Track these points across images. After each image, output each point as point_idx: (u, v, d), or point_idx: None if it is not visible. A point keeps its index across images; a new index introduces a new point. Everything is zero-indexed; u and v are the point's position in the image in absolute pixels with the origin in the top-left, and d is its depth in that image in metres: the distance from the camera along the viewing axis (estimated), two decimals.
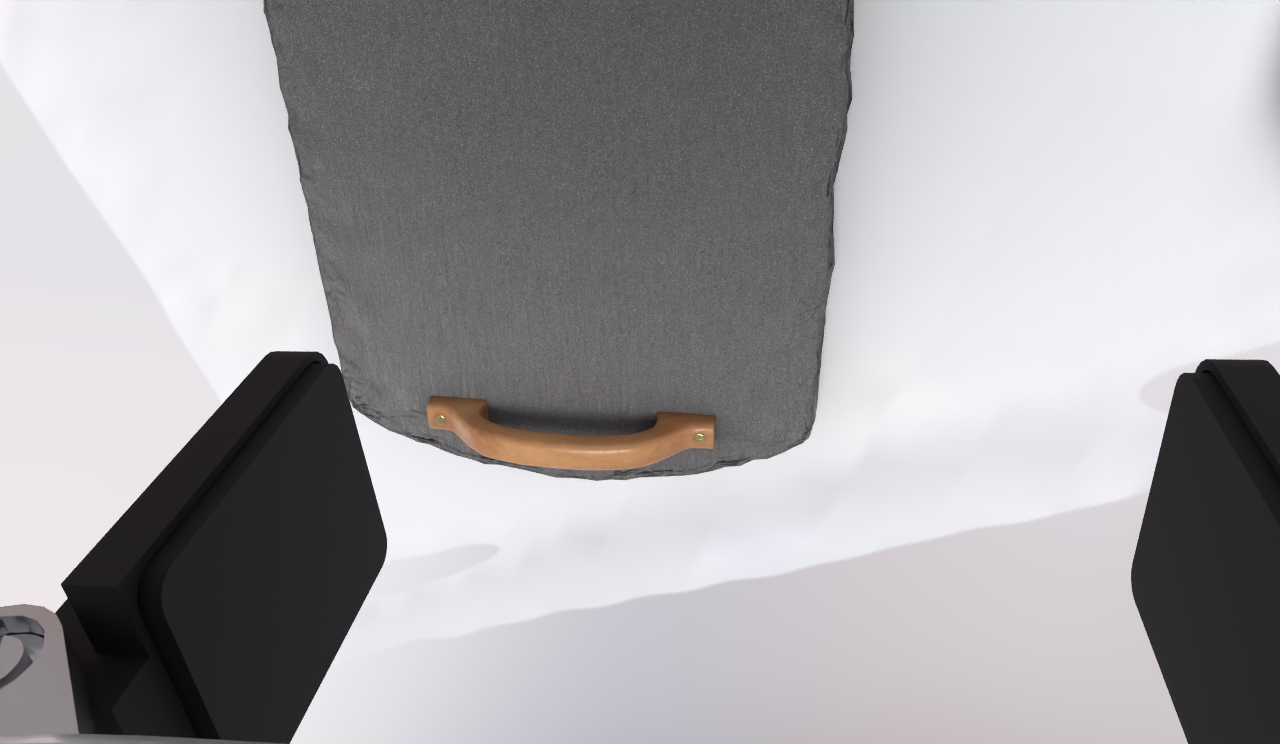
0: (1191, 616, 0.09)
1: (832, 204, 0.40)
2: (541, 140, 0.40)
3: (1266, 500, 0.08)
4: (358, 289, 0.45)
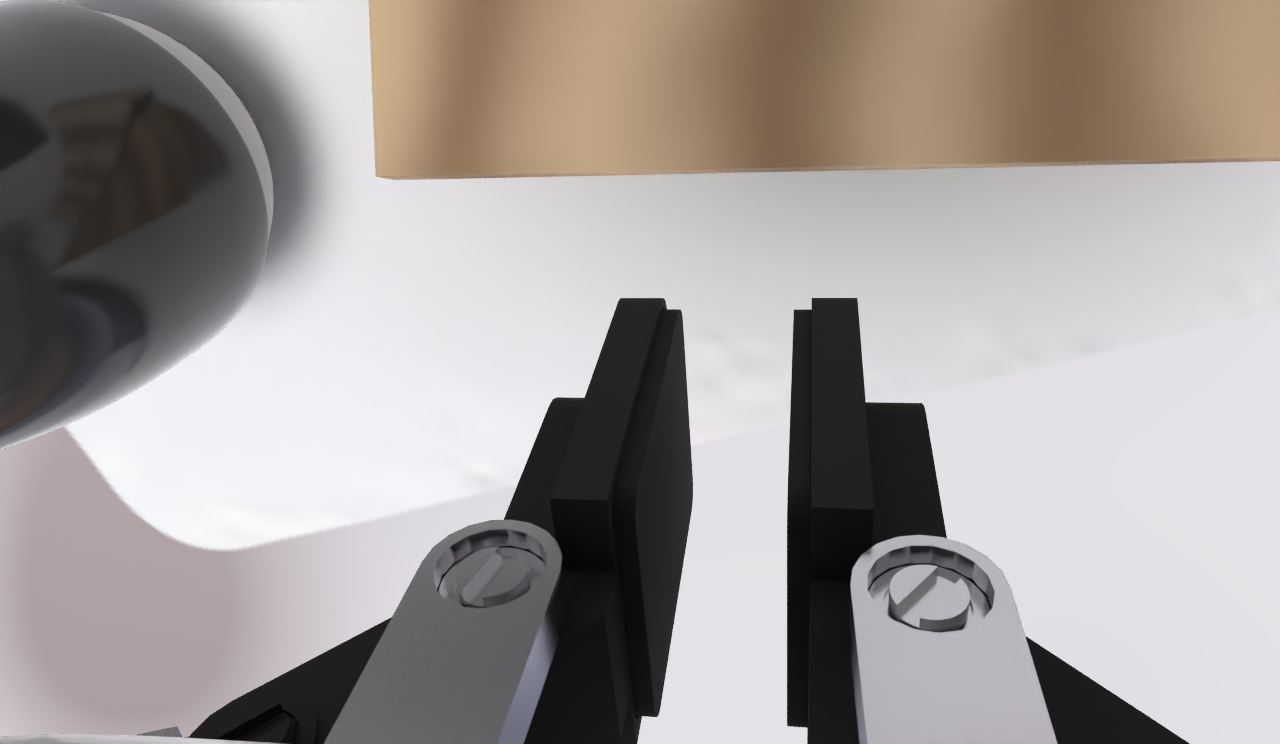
0: None
1: None
2: None
3: (794, 404, 0.10)
4: None
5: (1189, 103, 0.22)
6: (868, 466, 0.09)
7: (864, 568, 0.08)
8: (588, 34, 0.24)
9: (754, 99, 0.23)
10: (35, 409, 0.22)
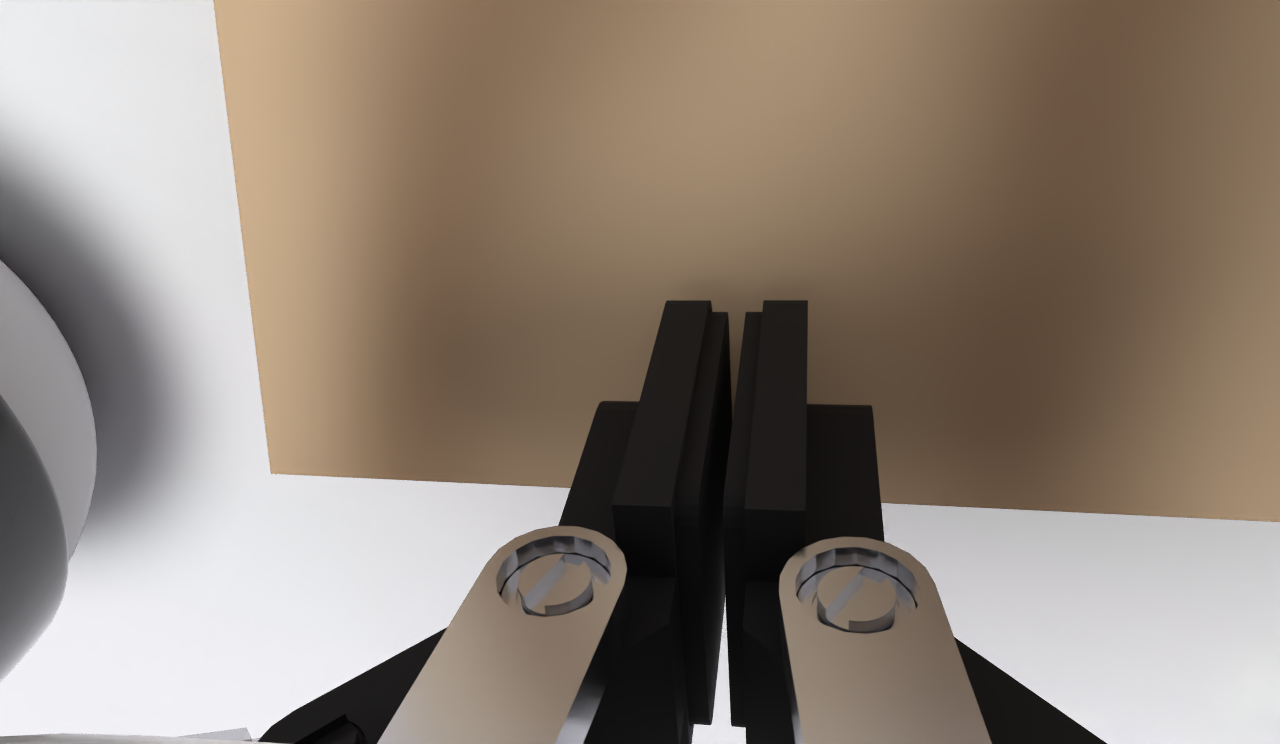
0: None
1: None
2: None
3: (738, 406, 0.10)
4: None
5: None
6: (804, 468, 0.09)
7: (794, 570, 0.08)
8: (652, 248, 0.12)
9: (975, 385, 0.12)
10: None
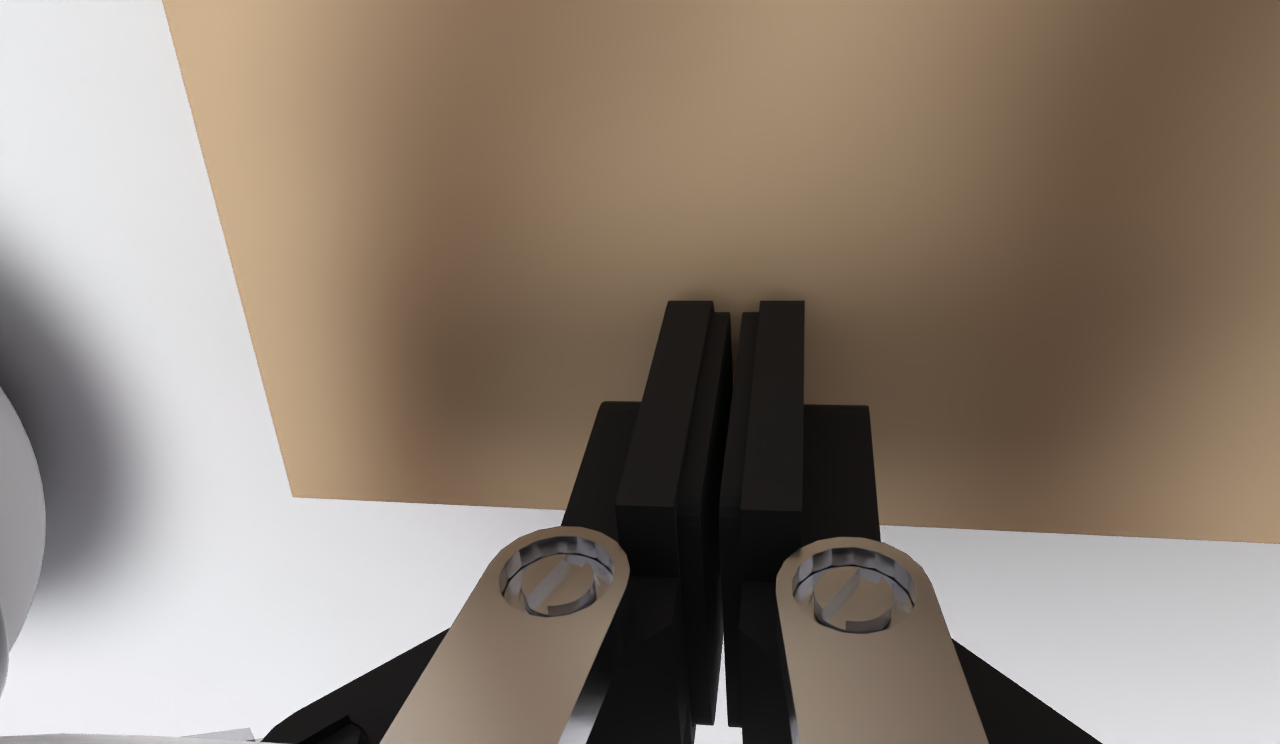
0: None
1: None
2: None
3: (734, 406, 0.10)
4: None
5: None
6: (800, 468, 0.09)
7: (790, 570, 0.08)
8: (659, 293, 0.12)
9: (991, 422, 0.12)
10: None
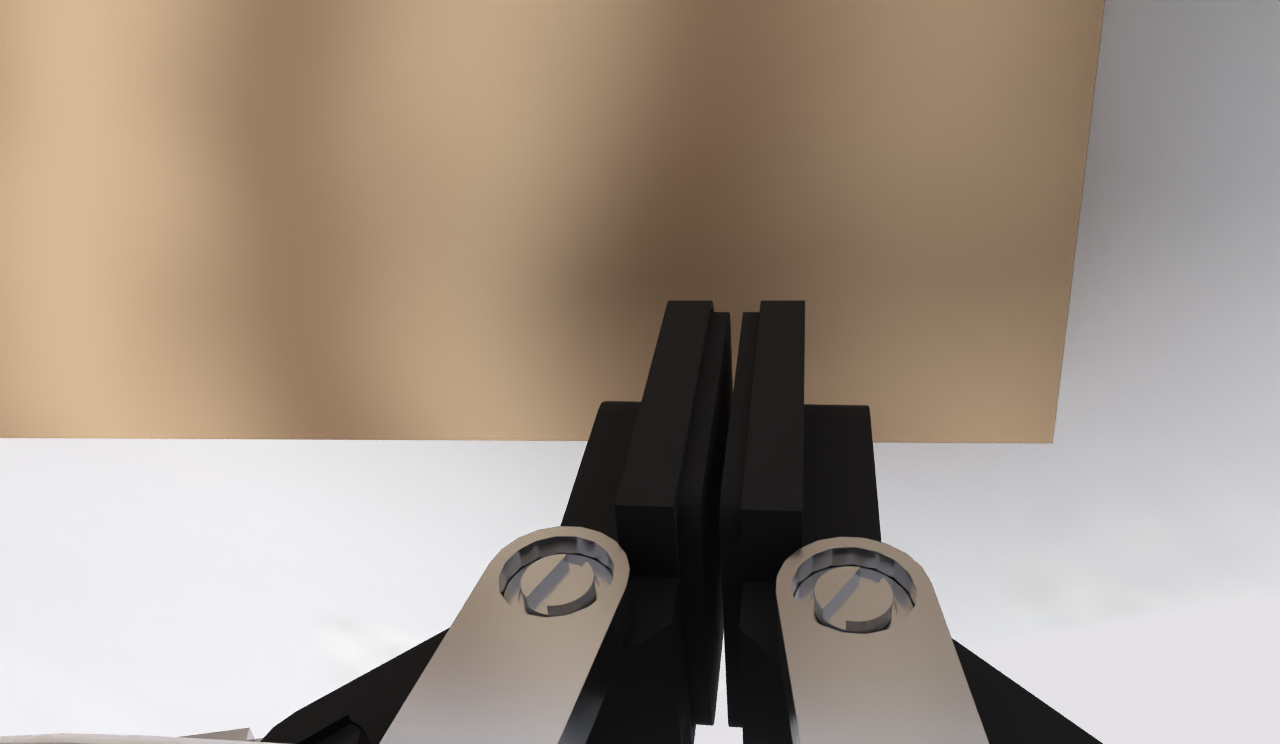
0: None
1: None
2: None
3: (735, 406, 0.10)
4: None
5: (859, 374, 0.15)
6: (800, 468, 0.09)
7: (790, 570, 0.08)
8: (33, 270, 0.17)
9: (277, 357, 0.17)
10: None
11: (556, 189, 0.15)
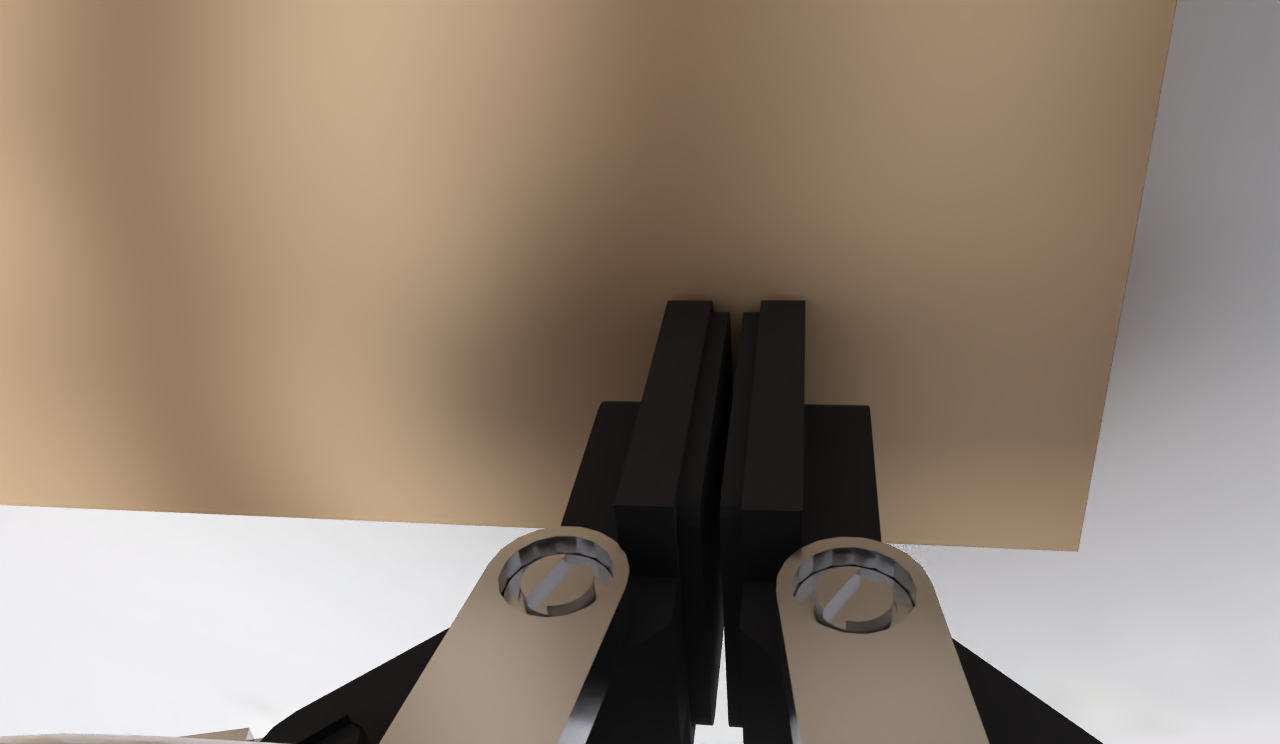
0: None
1: None
2: None
3: (735, 406, 0.10)
4: None
5: None
6: (801, 468, 0.09)
7: (791, 570, 0.08)
8: None
9: (153, 421, 0.14)
10: None
11: (473, 239, 0.12)
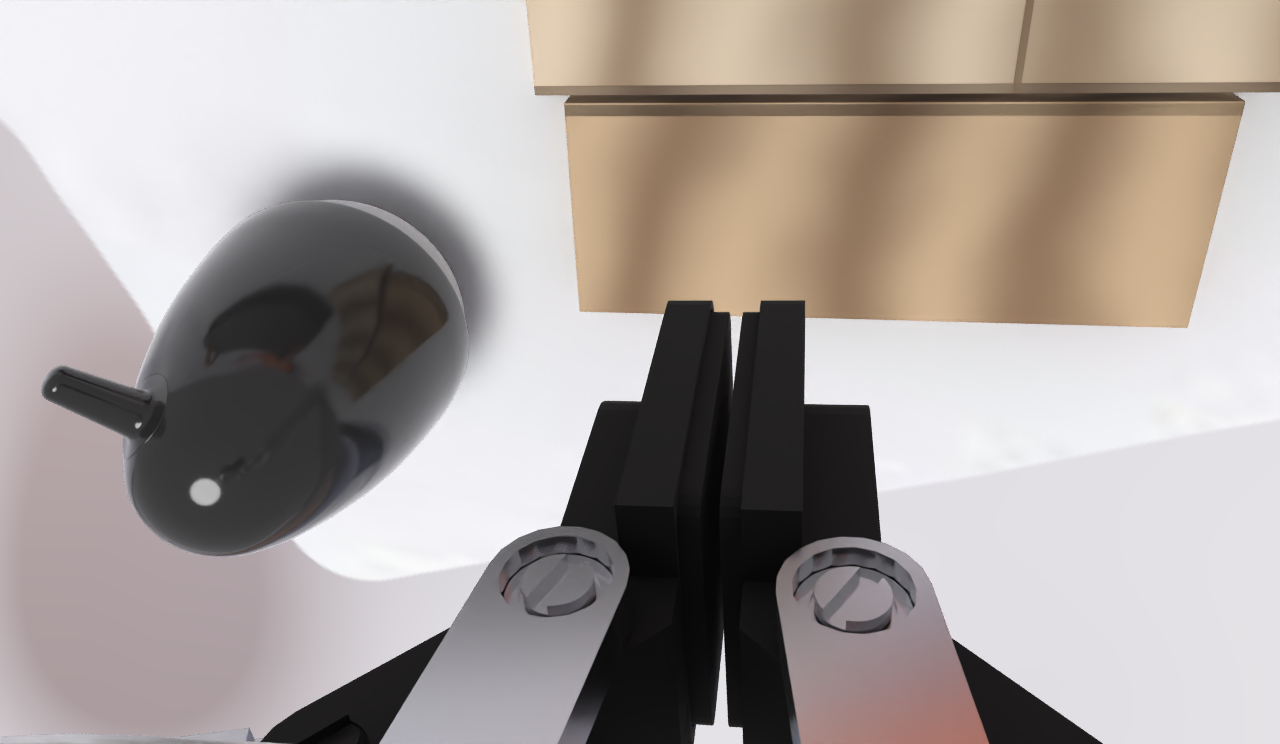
0: None
1: None
2: None
3: (735, 406, 0.10)
4: None
5: (1106, 295, 0.35)
6: (801, 468, 0.09)
7: (791, 570, 0.08)
8: (724, 234, 0.36)
9: (832, 279, 0.36)
10: (343, 504, 0.32)
11: (988, 210, 0.34)
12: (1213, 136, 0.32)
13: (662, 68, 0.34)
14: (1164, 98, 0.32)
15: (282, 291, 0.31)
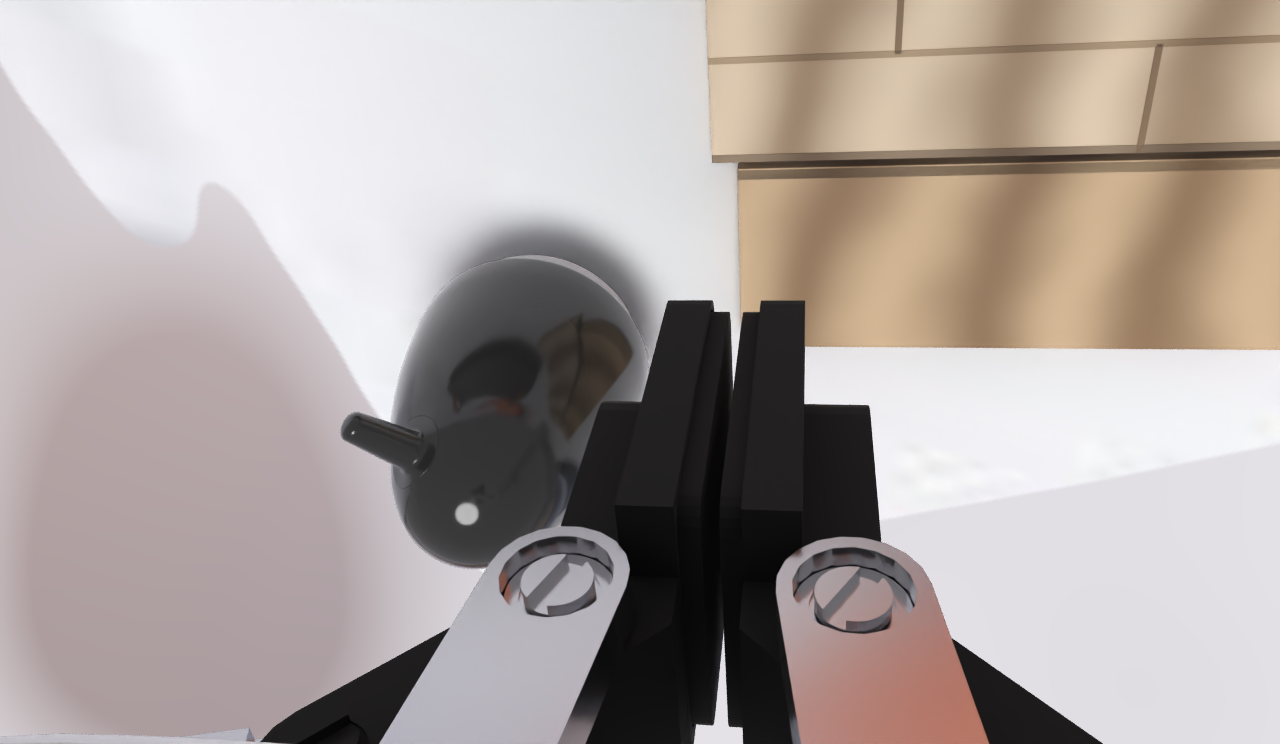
0: None
1: None
2: None
3: (735, 406, 0.10)
4: None
5: (1216, 322, 0.40)
6: (800, 468, 0.09)
7: (790, 570, 0.08)
8: (874, 277, 0.41)
9: (970, 313, 0.41)
10: None
11: (1112, 252, 0.39)
12: None
13: (826, 138, 0.39)
14: (1270, 153, 0.37)
15: (516, 341, 0.37)
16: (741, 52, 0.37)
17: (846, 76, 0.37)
